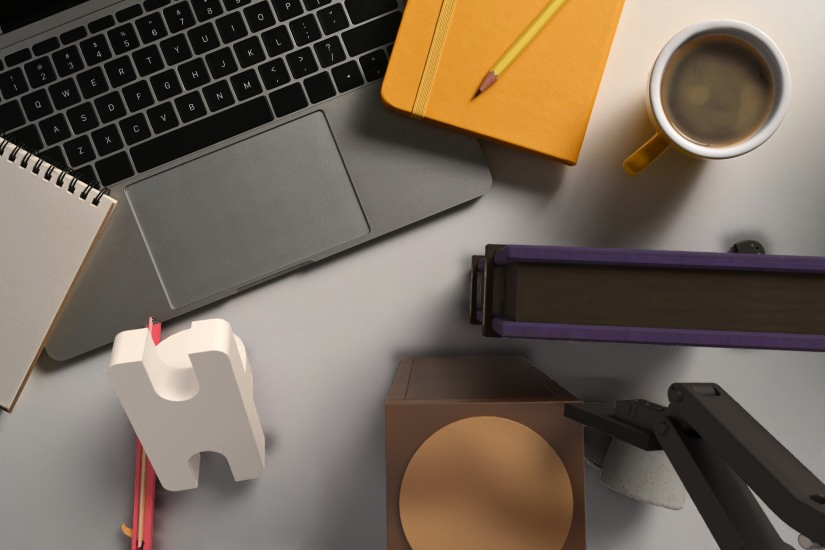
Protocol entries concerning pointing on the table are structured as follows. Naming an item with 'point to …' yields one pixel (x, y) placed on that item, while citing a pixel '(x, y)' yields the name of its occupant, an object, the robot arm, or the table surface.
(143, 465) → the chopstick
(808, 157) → the table surface
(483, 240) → the table surface
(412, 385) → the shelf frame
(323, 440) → the table surface
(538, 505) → the brown square coaster
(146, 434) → the white slotted bracket
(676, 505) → the ceramic mug
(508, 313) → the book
